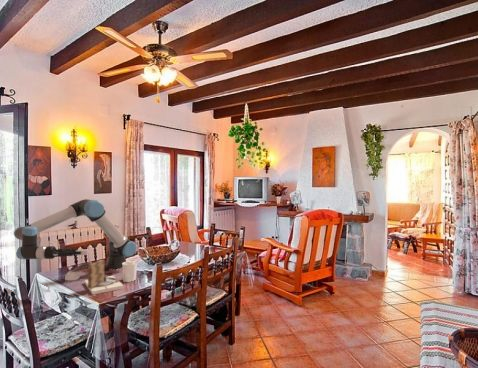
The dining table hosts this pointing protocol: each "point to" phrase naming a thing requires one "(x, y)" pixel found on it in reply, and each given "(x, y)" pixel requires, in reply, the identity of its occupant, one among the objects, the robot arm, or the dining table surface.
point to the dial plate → (105, 287)
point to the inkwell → (75, 273)
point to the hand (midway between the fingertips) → (87, 252)
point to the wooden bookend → (98, 275)
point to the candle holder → (129, 271)
